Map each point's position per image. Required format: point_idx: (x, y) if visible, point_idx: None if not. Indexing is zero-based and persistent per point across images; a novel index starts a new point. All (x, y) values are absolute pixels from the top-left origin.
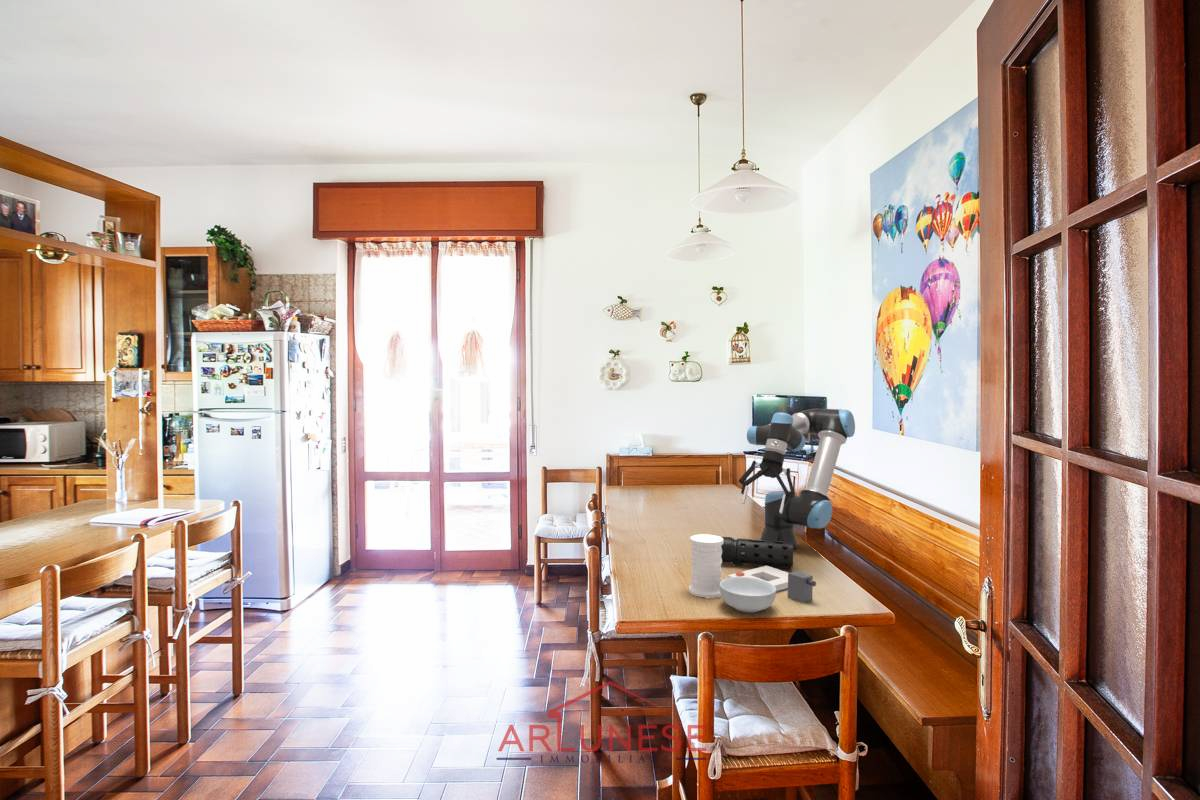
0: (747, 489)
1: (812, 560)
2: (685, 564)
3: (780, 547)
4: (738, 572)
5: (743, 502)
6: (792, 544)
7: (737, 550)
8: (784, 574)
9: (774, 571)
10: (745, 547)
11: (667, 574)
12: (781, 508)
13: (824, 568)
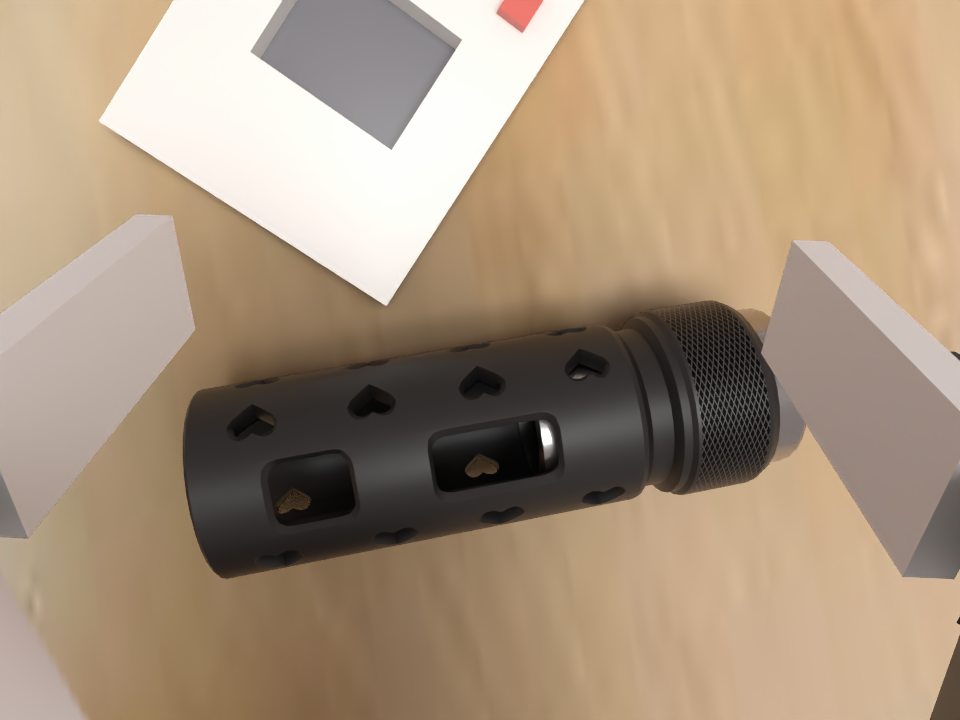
0: (899, 454)
1: (133, 696)
2: (877, 257)
3: (288, 417)
4: (538, 7)
5: (798, 242)
6: (186, 476)
7: (611, 331)
8: (237, 144)
9: (314, 187)
10: (561, 353)
11: (943, 13)
12: (120, 235)
13: (29, 554)
